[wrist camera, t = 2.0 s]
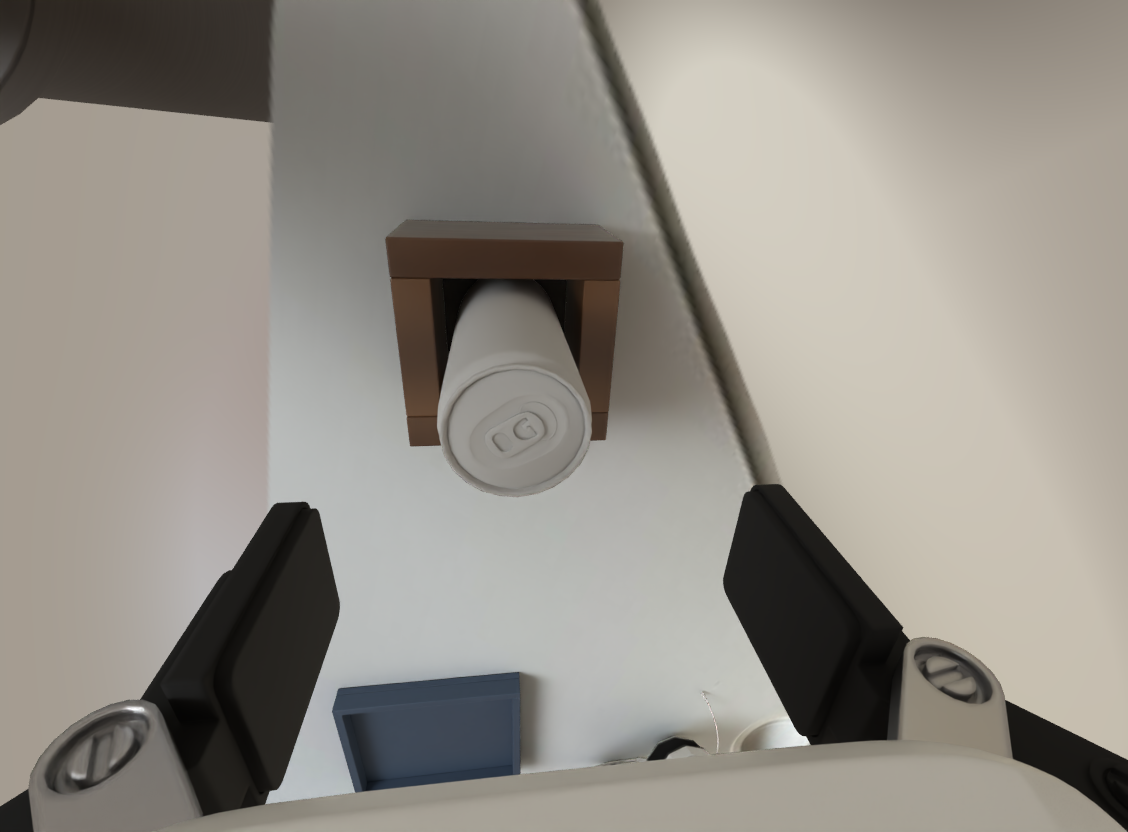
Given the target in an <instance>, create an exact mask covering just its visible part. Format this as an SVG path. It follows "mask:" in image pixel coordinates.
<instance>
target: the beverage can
mask: <svg viewBox="0 0 1128 832" xmlns="http://www.w3.org/2000/svg"><path fill="white" fill-rule="evenodd" d="M591 423H592V415H591V405H590V400H589V398H588V395H587V393H586V390H585V387H584V385H583V382H582V380H581V377H580V375H579V372H578V369H577V367H576V364H575V362H574V359H573V357H572V354H571V351H570V349H569V346H568V344H567V341H566V339H565V336H564V333H563V331H562V328H561V326H560V323H559V321H558V318H557V315H556V313H555V310H554V308H553V305H552V303H551V300H550V298H549V295H548V294H547V293H546V292H545V290H544V289H543V288H542V286H541V285H540V284H538V283H537V282H536V281H534V280H533V279H478V280H477V281H476V282H475V283H474V284H473V285H472V286H471V287H470V288H469V289H468V291H467V292H466V294H465V296H464V297H463V299H462V302H461V304H460V307H459V309H458V314H457V319H456V324H455V329H454V335H453V340H452V344H451V349H450V354H449V358H448V362H447V367H446V371H445V375H444V380H443V385H442V389H441V394H440V399H439V404H438V417H437V429H438V433H439V439H440V443H441V447H442V450H443V454H444V457H445V458H446V460H447V461H448V463H449V465H450V466H451V468H452V470H453V471H454V472H455V473H456V474H457V475H459V476H460V477H461V478H462V479H463V480H464V481H465V482H466V483H468V484H470V485H472V486H474V487H475V488H477V489H479V490H481V491H483V492H487V493H491V494H495V495H498V496H512V497H521V496H527V495H532V494H538V493H540V492H543V491H545V490H548V489H550V488H553V487H555V486H556V485H558V484H559V483H561V482H562V481H563V480H565V479H566V478H568V477H569V476H570V475H571V474H572V473H573V472H574V471H575V469H576V468H577V467H578V466H579V465H580V464H581V462H582V460H583V458H584V456H585V454H586V452H587V450H588V448H589V443H590V439H591V434H592V428H591Z"/></svg>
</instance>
